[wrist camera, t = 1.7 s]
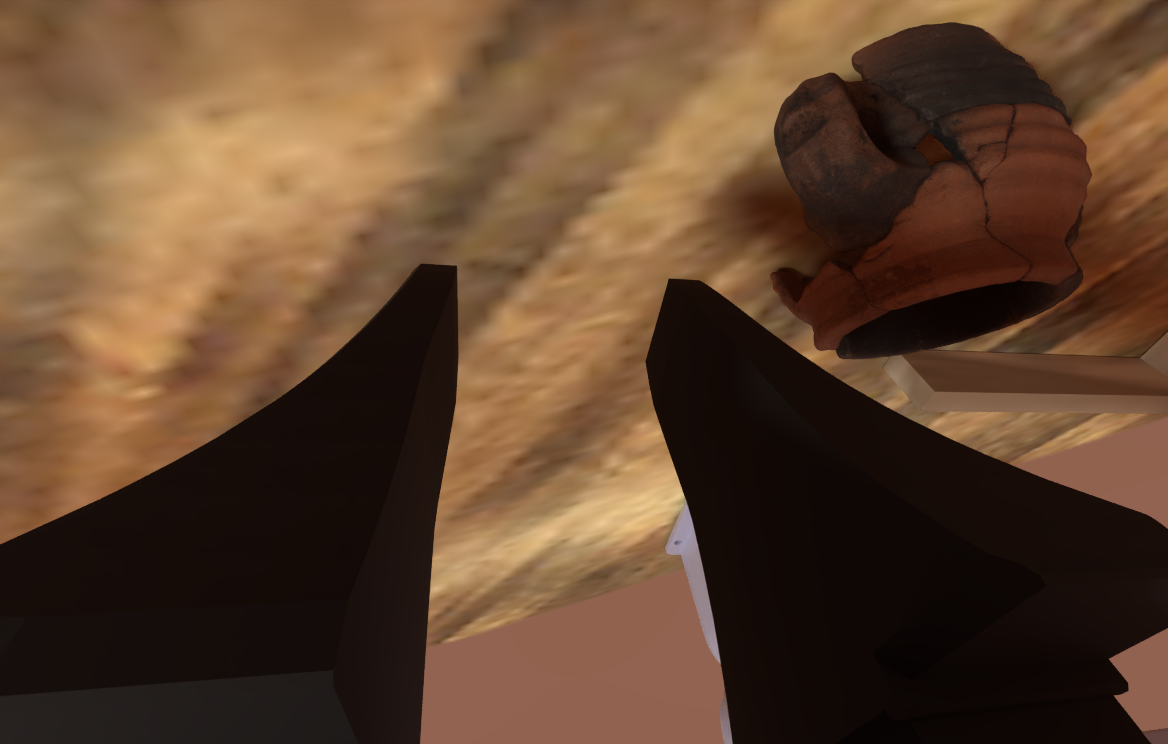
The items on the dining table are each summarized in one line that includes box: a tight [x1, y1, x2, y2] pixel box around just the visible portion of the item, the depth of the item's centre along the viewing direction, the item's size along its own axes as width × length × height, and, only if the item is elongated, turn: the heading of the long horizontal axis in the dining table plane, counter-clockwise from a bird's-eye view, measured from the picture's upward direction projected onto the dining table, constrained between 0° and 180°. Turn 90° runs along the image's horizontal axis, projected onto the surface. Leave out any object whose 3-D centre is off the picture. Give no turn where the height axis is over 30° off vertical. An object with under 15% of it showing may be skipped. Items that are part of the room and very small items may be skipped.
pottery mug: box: [770, 22, 1092, 359], centre depth 17 cm, size 12×10×8 cm
